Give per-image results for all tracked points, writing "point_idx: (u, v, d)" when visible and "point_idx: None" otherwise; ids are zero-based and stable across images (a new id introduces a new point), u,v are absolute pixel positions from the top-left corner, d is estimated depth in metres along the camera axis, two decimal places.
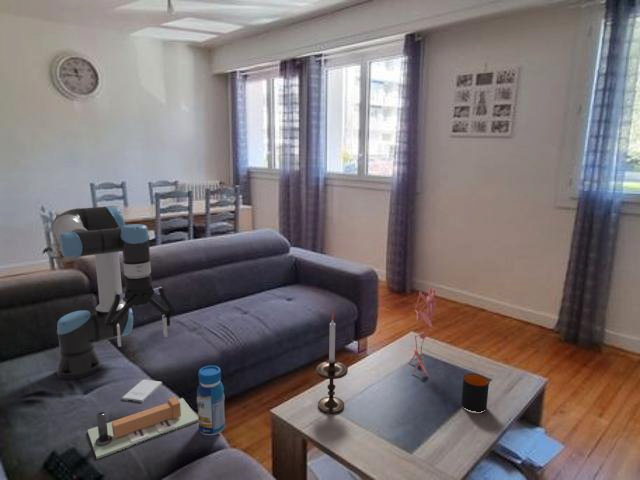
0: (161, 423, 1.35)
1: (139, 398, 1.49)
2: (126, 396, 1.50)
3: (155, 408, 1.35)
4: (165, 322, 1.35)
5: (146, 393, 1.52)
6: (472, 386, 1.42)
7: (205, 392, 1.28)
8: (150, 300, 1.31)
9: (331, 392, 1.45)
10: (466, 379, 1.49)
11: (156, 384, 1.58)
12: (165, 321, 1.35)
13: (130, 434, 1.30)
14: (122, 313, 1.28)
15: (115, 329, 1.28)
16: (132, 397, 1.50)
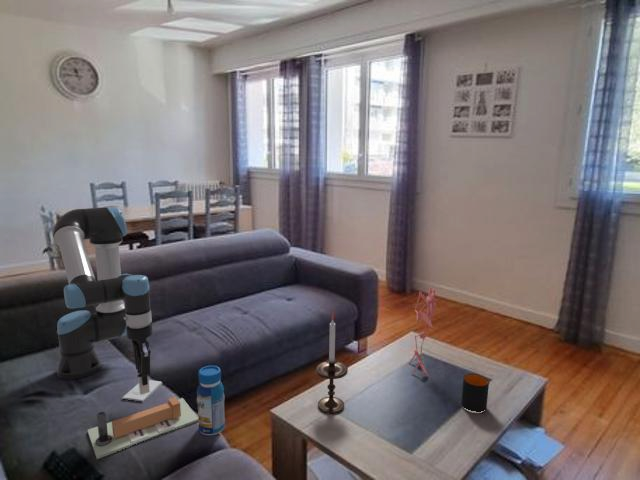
0: (161, 423, 1.35)
1: (140, 398, 1.49)
2: (126, 396, 1.50)
3: (155, 408, 1.35)
4: (139, 380, 1.37)
5: (147, 393, 1.52)
6: (472, 386, 1.42)
7: (205, 392, 1.28)
8: (136, 352, 1.34)
9: (331, 392, 1.45)
10: (466, 379, 1.49)
11: (156, 384, 1.58)
12: (139, 379, 1.37)
13: (130, 434, 1.30)
14: (137, 360, 1.37)
15: None
16: (133, 397, 1.50)
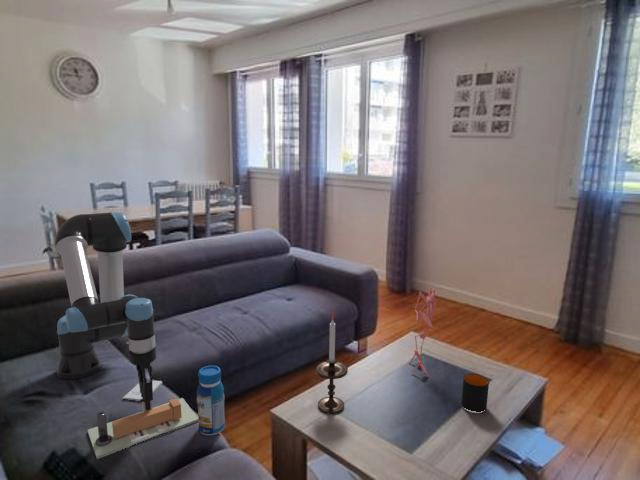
0: (161, 423, 1.35)
1: (140, 398, 1.49)
2: (127, 396, 1.50)
3: (156, 409, 1.35)
4: (142, 404, 1.34)
5: None
6: (472, 386, 1.42)
7: (205, 392, 1.28)
8: (139, 377, 1.31)
9: (331, 392, 1.45)
10: (466, 379, 1.49)
11: (156, 384, 1.58)
12: (142, 403, 1.34)
13: (130, 434, 1.30)
14: (140, 384, 1.34)
15: None
16: (133, 397, 1.50)
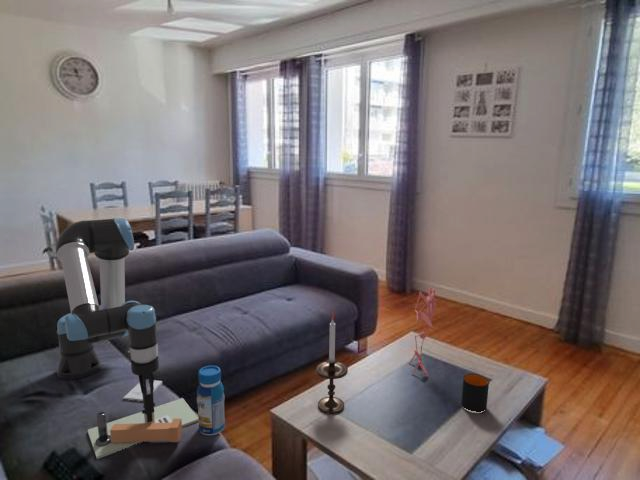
0: None
1: (141, 398, 1.49)
2: (127, 396, 1.50)
3: (156, 424, 1.27)
4: (144, 416, 1.28)
5: None
6: (472, 386, 1.42)
7: (205, 392, 1.28)
8: None
9: (331, 392, 1.45)
10: (466, 379, 1.49)
11: (157, 383, 1.58)
12: (144, 415, 1.28)
13: None
14: None
15: None
16: (134, 397, 1.50)
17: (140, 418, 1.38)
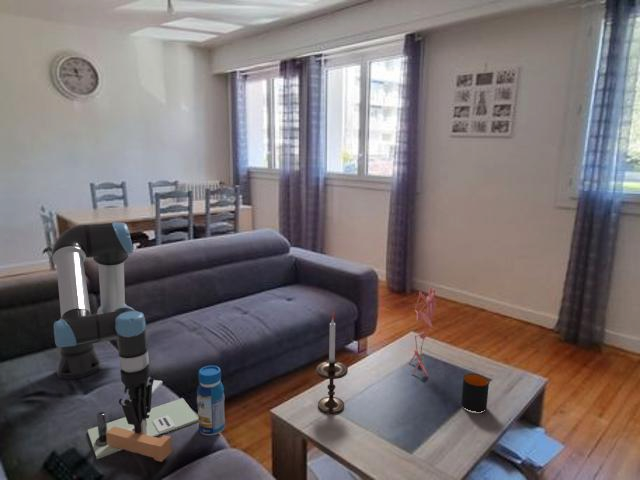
0: (161, 423, 1.35)
1: None
2: None
3: (146, 437, 1.22)
4: None
5: None
6: (472, 386, 1.42)
7: (205, 392, 1.28)
8: None
9: (331, 392, 1.45)
10: (466, 379, 1.49)
11: (157, 383, 1.59)
12: None
13: None
14: None
15: None
16: None
17: None
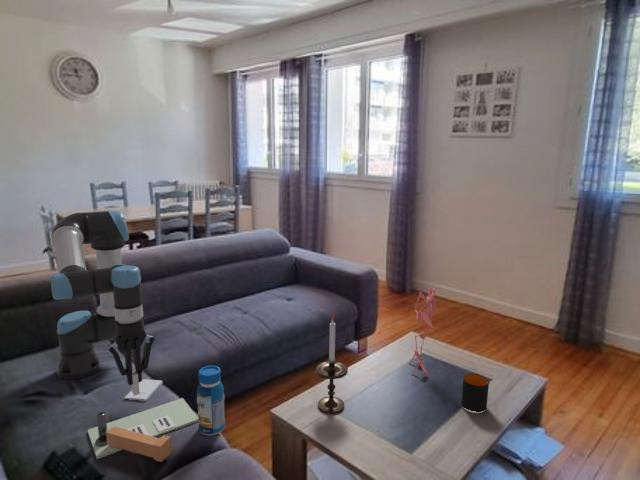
0: (161, 423, 1.35)
1: (142, 397, 1.49)
2: (128, 396, 1.50)
3: (146, 437, 1.22)
4: (137, 379, 1.26)
5: (148, 392, 1.53)
6: (472, 386, 1.42)
7: (205, 392, 1.28)
8: (138, 347, 1.25)
9: (331, 392, 1.45)
10: (466, 379, 1.49)
11: (157, 383, 1.59)
12: (137, 378, 1.26)
13: None
14: (128, 361, 1.24)
15: (130, 378, 1.26)
16: (135, 397, 1.50)
17: (140, 418, 1.38)
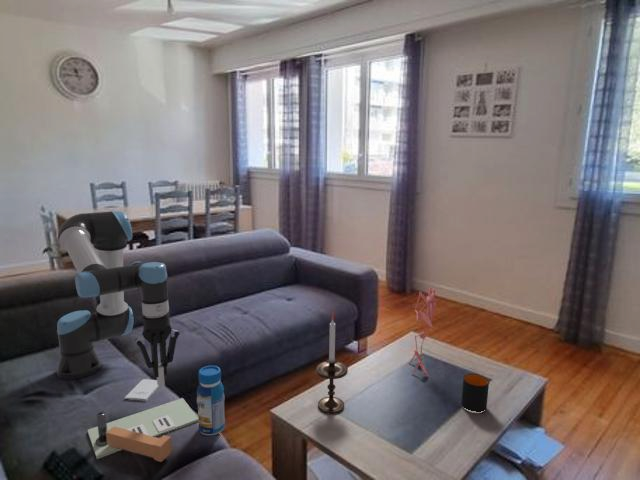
0: (161, 423, 1.35)
1: (142, 397, 1.50)
2: (129, 396, 1.50)
3: (146, 437, 1.22)
4: (162, 371, 1.31)
5: (149, 392, 1.53)
6: (472, 386, 1.42)
7: (205, 392, 1.28)
8: (164, 341, 1.29)
9: (331, 392, 1.45)
10: (466, 379, 1.49)
11: None
12: (162, 370, 1.31)
13: None
14: (154, 354, 1.29)
15: (156, 371, 1.30)
16: (135, 396, 1.50)
17: (140, 418, 1.38)
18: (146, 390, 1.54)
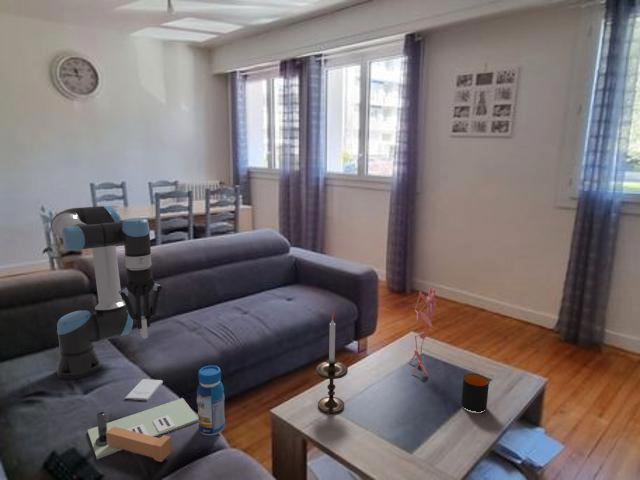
0: (161, 423, 1.35)
1: (143, 397, 1.50)
2: (129, 396, 1.50)
3: (146, 437, 1.22)
4: (145, 323, 1.37)
5: (149, 392, 1.53)
6: (472, 386, 1.42)
7: (205, 392, 1.28)
8: (146, 294, 1.36)
9: (331, 392, 1.45)
10: (466, 379, 1.49)
11: (157, 383, 1.59)
12: (145, 322, 1.37)
13: None
14: (138, 306, 1.35)
15: (140, 322, 1.37)
16: (136, 396, 1.50)
17: (140, 418, 1.38)
18: (147, 390, 1.54)
